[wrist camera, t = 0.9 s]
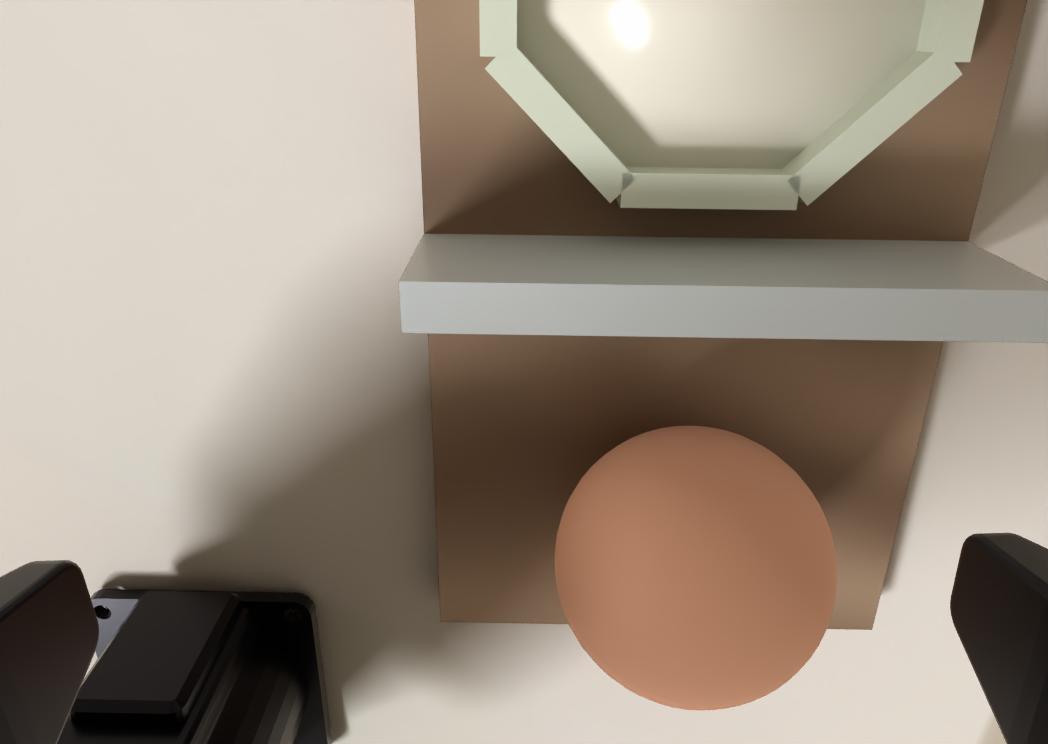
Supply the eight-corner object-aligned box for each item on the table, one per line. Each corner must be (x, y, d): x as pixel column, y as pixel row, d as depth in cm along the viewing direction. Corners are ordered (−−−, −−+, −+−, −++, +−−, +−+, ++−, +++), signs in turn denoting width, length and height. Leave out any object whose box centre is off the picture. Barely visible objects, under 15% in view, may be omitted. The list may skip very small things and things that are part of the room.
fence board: (858, 605, 23) (929, 733, 19) (444, 597, 23) (424, 724, 19) (1091, -392, 14) (1330, -569, 10) (405, -396, 14) (349, -574, 10)
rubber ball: (771, 584, 21) (853, 780, 16) (549, 580, 21) (553, 774, 16) (805, 382, 19) (917, 532, 13) (555, 379, 19) (562, 526, 13)
